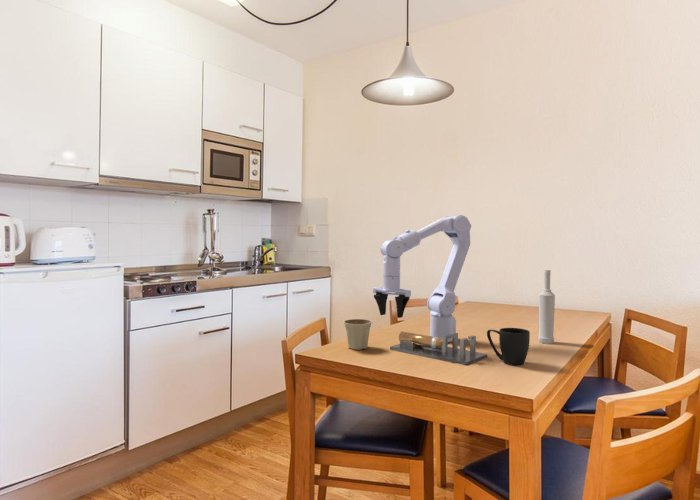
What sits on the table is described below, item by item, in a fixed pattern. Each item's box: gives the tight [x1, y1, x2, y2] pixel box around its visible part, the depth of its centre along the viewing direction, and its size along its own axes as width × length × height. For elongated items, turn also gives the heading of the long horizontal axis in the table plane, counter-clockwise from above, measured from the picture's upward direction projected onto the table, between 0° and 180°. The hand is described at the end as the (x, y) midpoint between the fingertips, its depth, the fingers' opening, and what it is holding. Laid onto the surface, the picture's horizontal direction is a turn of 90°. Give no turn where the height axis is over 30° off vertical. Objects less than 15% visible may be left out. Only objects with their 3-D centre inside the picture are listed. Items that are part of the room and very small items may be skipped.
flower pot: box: [342, 318, 373, 351], centre depth 152 cm, size 9×9×9 cm
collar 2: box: [459, 335, 477, 359], centre depth 138 cm, size 7×1×6 cm, turn 138°
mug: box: [486, 327, 531, 367], centre depth 135 cm, size 8×12×10 cm
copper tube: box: [398, 331, 442, 350], centre depth 149 cm, size 16×4×4 cm, turn 48°
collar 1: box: [442, 332, 459, 355], centre depth 142 cm, size 7×1×6 cm, turn 138°
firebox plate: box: [389, 340, 488, 366], centre depth 145 cm, size 13×27×3 cm, turn 48°
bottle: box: [537, 269, 556, 345], centre depth 161 cm, size 5×5×25 cm
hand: (391, 316), depth 157 cm, fingers open, 7 cm apart
